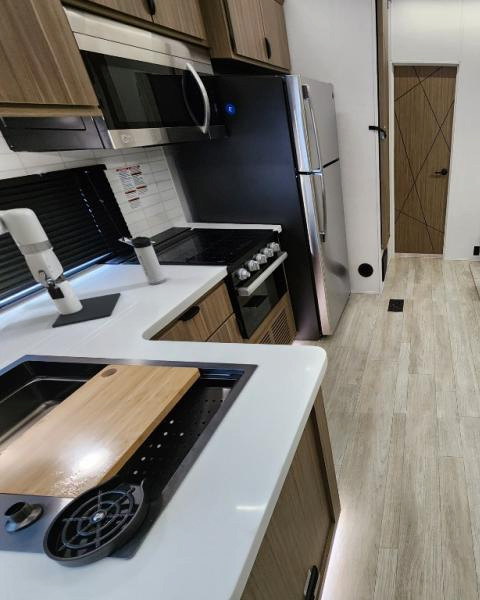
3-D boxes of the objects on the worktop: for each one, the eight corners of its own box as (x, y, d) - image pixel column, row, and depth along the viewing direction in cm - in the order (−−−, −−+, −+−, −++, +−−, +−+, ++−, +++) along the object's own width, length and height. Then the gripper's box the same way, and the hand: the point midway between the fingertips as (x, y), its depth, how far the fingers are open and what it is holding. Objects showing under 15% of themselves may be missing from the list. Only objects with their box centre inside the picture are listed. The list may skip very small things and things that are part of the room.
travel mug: (163, 277, 150) (146, 234, 140) (167, 281, 146) (150, 238, 136) (147, 281, 146) (129, 238, 137) (150, 286, 142) (132, 241, 132)
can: (56, 316, 118) (39, 286, 113) (64, 308, 124) (47, 279, 118) (79, 313, 121) (63, 283, 115) (85, 305, 126) (70, 276, 120)
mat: (52, 327, 113) (51, 325, 113) (70, 303, 129) (69, 301, 129) (110, 316, 120) (109, 314, 120) (120, 294, 136) (120, 292, 135)
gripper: (31, 241, 116) (56, 287, 124) (8, 257, 102) (39, 307, 111) (59, 238, 119) (82, 283, 127) (40, 252, 105) (68, 302, 114)
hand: (62, 294), depth 119 cm, fingers closed on can, 6 cm apart
